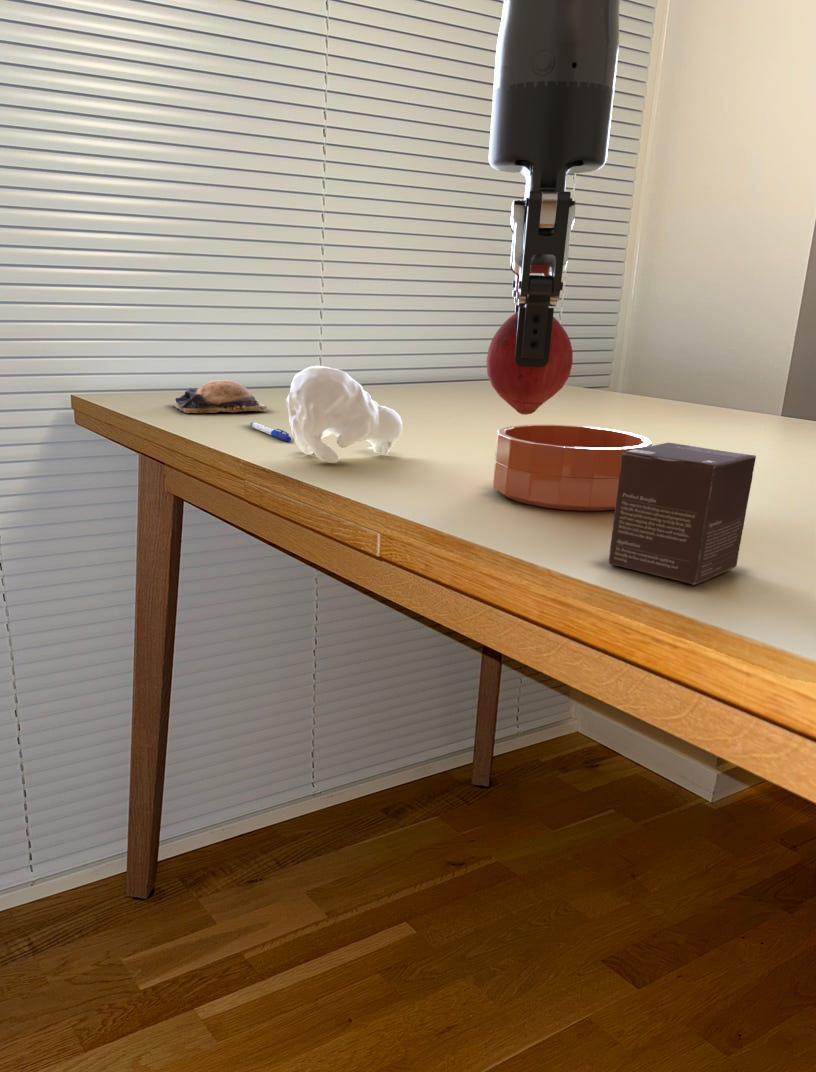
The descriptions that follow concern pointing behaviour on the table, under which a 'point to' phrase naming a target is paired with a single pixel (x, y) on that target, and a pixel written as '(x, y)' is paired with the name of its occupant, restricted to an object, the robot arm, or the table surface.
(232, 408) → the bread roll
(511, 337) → the onion
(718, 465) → the box
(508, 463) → the bowl
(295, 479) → the table surface
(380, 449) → the white animal figurine
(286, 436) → the ballpoint pen
